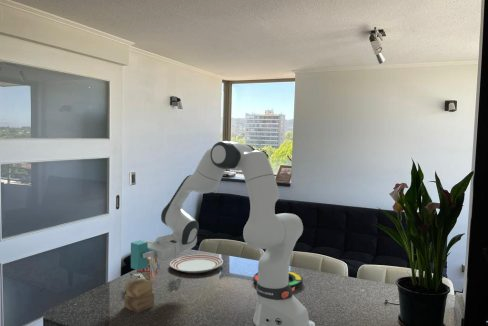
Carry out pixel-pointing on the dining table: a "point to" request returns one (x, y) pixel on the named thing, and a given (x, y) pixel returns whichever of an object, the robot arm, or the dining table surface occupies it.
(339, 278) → the dining table surface
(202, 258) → the dinner plate
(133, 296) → the oak top block
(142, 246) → the teal pillar
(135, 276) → the game die
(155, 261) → the stack of blocks
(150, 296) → the walnut base block
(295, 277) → the electronic game
